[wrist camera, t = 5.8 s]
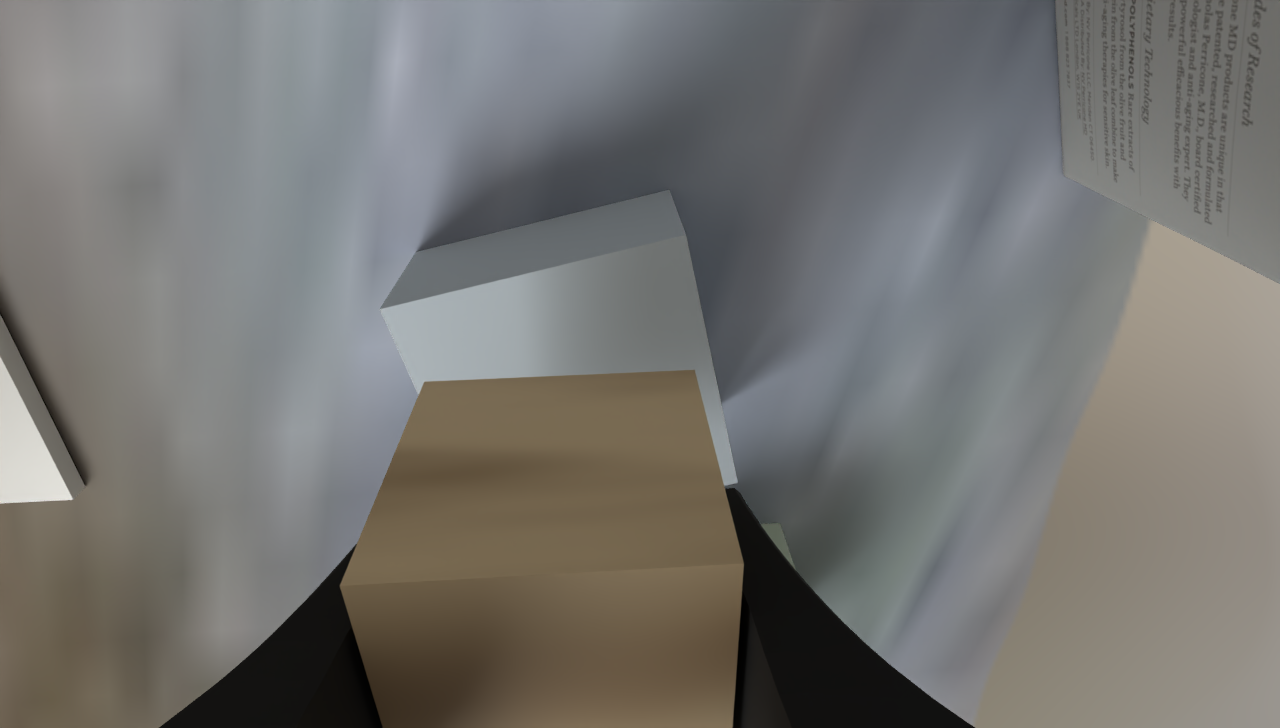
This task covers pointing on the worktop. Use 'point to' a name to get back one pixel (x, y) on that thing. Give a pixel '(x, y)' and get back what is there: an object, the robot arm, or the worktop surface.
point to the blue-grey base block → (561, 304)
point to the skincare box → (1178, 116)
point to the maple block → (551, 559)
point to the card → (29, 437)
